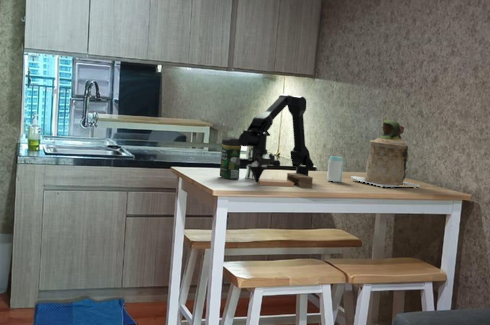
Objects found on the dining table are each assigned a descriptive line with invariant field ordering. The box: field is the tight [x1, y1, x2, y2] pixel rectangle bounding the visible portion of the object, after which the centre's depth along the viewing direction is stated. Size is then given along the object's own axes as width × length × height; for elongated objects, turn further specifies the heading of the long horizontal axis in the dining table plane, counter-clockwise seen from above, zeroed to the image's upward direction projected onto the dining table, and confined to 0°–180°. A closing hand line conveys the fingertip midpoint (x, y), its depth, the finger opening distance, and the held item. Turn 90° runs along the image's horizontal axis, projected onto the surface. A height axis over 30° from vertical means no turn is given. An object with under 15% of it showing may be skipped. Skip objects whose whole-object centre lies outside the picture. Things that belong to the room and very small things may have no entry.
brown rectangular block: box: [286, 172, 314, 188], centre depth 296 cm, size 13×6×4 cm, turn 22°
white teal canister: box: [326, 155, 344, 183], centre depth 319 cm, size 7×7×12 cm
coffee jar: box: [219, 136, 242, 180], centre depth 300 cm, size 10×8×19 cm
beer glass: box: [244, 146, 258, 180], centre depth 307 cm, size 7×7×15 cm
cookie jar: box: [350, 117, 420, 188], centre depth 322 cm, size 25×25×32 cm
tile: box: [255, 178, 295, 188], centre depth 291 cm, size 8×15×2 cm, turn 102°
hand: (256, 182), depth 288 cm, fingers closed
